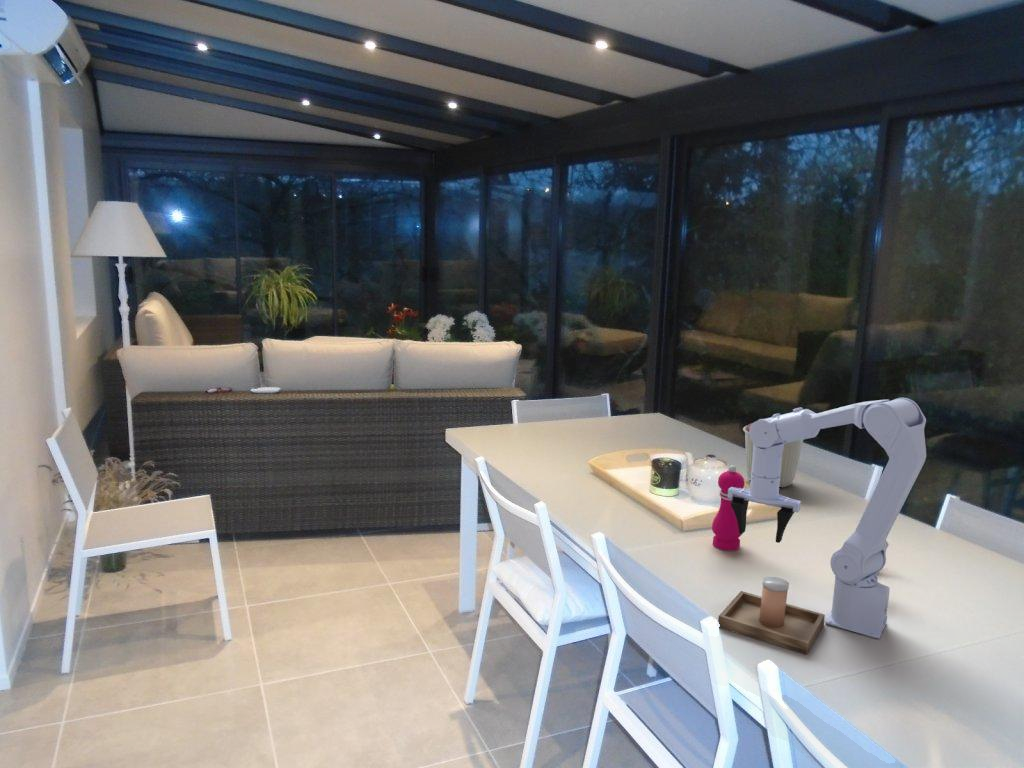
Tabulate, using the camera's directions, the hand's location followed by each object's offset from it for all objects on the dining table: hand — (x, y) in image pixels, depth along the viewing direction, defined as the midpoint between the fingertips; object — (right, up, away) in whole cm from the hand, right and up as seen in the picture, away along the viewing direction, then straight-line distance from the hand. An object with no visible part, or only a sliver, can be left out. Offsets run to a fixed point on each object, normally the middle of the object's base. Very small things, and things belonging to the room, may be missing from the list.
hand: (760, 536), depth 155 cm
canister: (+27, +2, +71) cm, 76 cm away
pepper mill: (-1, -7, +22) cm, 23 cm away
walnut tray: (-3, -14, -16) cm, 21 cm away
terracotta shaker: (-3, -13, -16) cm, 21 cm away
